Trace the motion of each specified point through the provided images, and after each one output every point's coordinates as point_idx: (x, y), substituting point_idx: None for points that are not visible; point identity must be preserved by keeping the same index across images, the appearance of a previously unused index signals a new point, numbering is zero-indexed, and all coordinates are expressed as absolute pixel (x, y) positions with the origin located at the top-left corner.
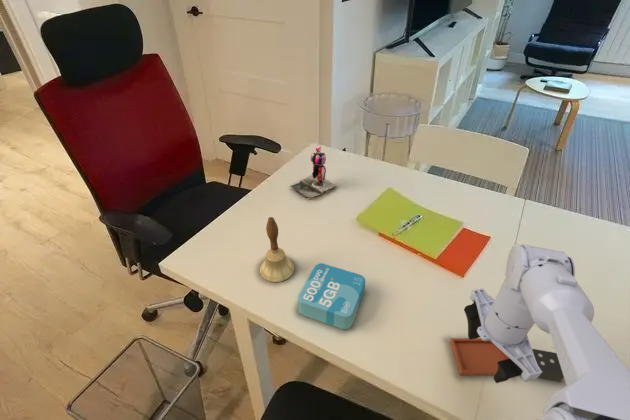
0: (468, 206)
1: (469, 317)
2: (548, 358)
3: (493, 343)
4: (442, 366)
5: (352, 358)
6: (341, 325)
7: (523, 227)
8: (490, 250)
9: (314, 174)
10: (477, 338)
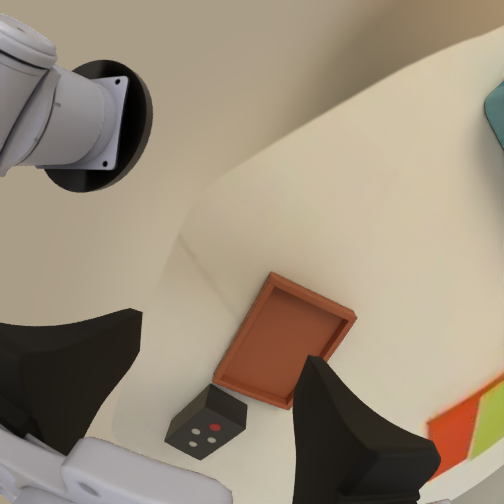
0: (472, 474)
1: (382, 455)
2: (200, 444)
3: (60, 457)
4: (313, 246)
5: (425, 63)
6: (496, 93)
7: None
8: None
9: None
10: None
